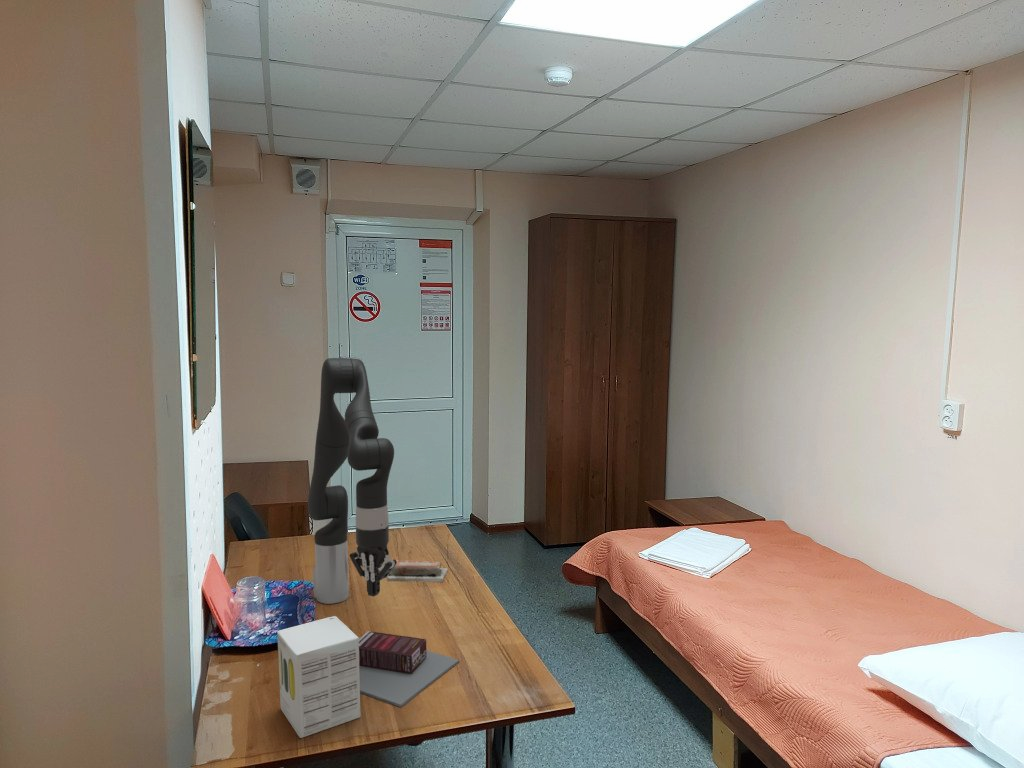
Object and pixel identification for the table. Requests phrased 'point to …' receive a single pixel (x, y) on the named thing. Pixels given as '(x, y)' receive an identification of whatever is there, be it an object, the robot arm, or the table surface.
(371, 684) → the mat
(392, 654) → the supplement box
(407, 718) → the table surface
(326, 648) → the supplement box
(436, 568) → the packaged product
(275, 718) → the table surface
